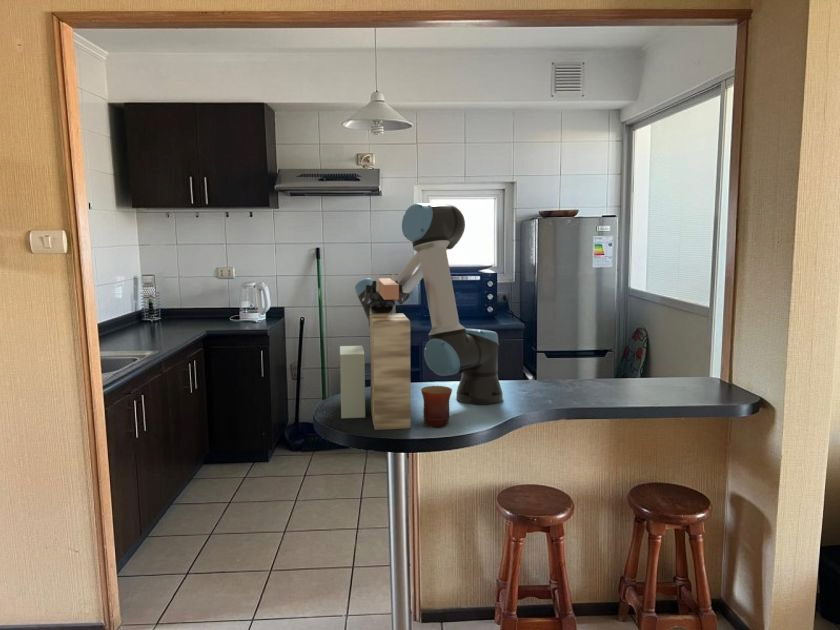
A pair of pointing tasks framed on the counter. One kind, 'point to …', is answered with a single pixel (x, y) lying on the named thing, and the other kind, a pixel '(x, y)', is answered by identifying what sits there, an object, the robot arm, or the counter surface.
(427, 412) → the mug
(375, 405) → the stand
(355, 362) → the post low
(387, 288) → the batten
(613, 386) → the counter surface
